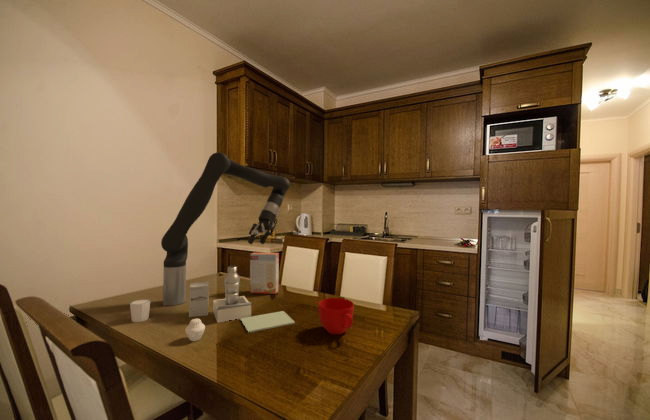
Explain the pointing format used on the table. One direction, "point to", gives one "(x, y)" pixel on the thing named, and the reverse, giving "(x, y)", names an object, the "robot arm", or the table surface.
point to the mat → (266, 321)
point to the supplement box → (198, 299)
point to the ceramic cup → (336, 314)
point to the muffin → (195, 329)
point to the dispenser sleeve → (231, 310)
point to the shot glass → (140, 310)
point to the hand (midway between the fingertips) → (255, 243)
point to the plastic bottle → (231, 286)
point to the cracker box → (264, 273)
